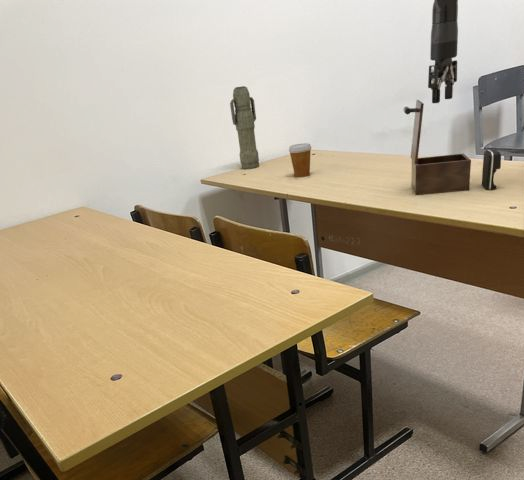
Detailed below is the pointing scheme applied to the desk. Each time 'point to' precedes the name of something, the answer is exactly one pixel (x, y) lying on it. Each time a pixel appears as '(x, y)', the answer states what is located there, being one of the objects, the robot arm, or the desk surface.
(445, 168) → the chest
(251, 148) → the stone idol statue
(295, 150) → the disposable coffee cup
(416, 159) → the lid
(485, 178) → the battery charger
